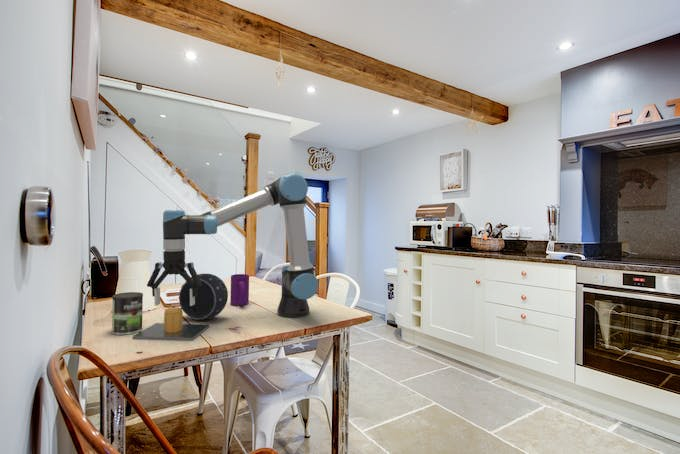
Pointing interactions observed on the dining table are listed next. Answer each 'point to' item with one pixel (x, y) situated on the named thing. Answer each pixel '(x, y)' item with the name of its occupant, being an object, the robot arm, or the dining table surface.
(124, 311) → the coffee can
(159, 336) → the plate
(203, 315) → the studded dark pot
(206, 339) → the dining table surface
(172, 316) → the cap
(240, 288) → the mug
